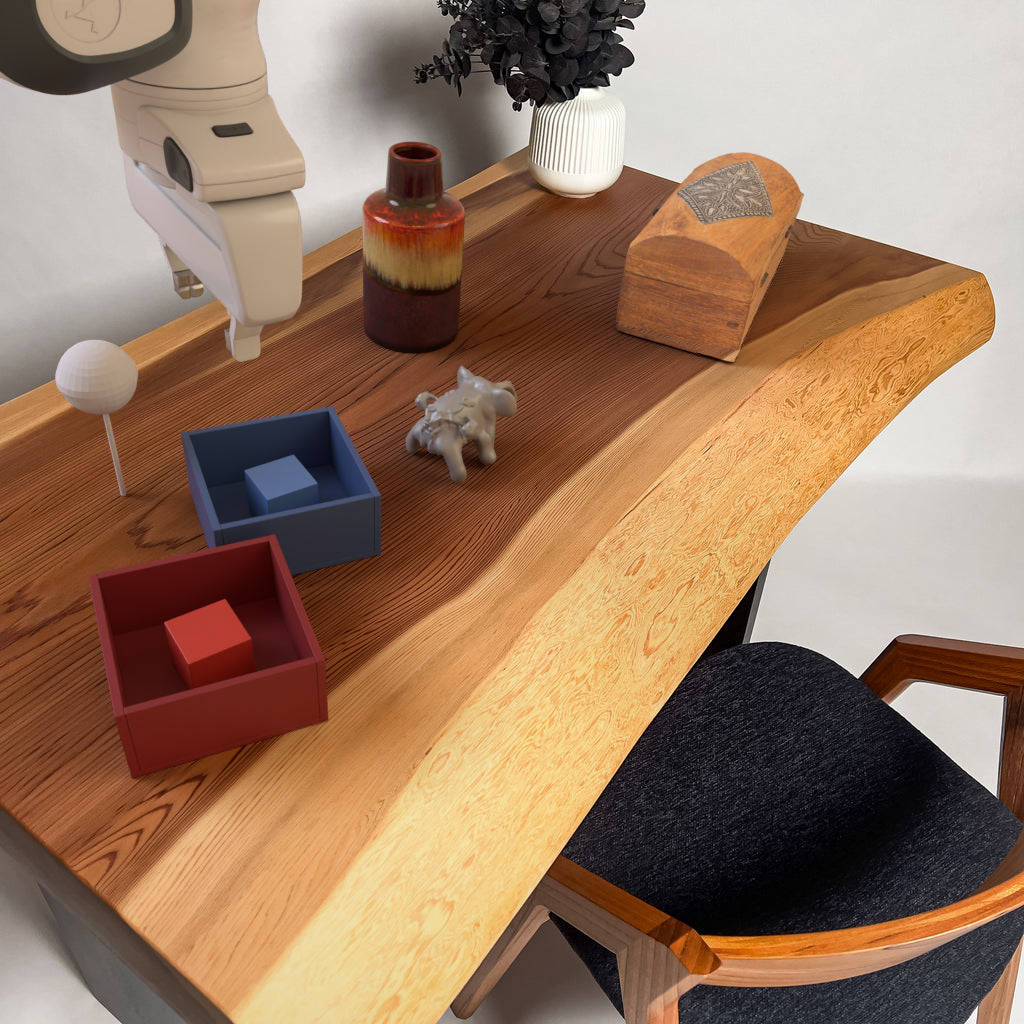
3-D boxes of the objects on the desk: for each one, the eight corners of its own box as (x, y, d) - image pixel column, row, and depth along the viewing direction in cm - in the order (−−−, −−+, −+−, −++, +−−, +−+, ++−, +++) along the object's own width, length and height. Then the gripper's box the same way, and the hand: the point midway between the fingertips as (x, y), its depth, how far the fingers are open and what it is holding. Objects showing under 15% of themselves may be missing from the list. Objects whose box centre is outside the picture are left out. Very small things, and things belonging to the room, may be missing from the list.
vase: (464, 311, 114) (475, 138, 101) (451, 358, 106) (461, 177, 93) (374, 300, 114) (373, 126, 101) (354, 346, 106) (350, 163, 93)
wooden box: (671, 237, 136) (691, 137, 127) (786, 267, 131) (815, 166, 122) (599, 328, 114) (618, 216, 105) (734, 367, 110) (766, 254, 101)
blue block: (271, 541, 80) (267, 500, 78) (248, 511, 83) (244, 470, 80) (320, 523, 83) (317, 483, 80) (296, 494, 85) (293, 454, 82)
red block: (196, 706, 67) (188, 664, 64) (172, 664, 70) (163, 621, 67) (257, 680, 69) (251, 638, 66) (231, 640, 72) (225, 598, 69)
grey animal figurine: (391, 466, 90) (392, 397, 85) (449, 404, 99) (453, 339, 94) (480, 498, 88) (486, 429, 83) (531, 432, 97) (540, 367, 92)
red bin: (132, 779, 63) (114, 717, 59) (105, 637, 72) (88, 574, 68) (328, 720, 68) (325, 659, 64) (280, 594, 77) (275, 533, 72)
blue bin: (222, 591, 76) (213, 530, 72) (190, 491, 85) (180, 432, 81) (381, 554, 81) (381, 495, 77) (335, 463, 90) (333, 405, 86)
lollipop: (131, 464, 87) (100, 317, 78) (174, 492, 85) (148, 343, 75) (71, 496, 83) (30, 346, 73) (115, 526, 81) (79, 374, 71)
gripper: (83, 70, 62) (116, 269, 71) (210, 185, 50) (231, 407, 59) (179, 63, 65) (199, 254, 74) (320, 170, 53) (324, 383, 62)
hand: (215, 323), depth 66 cm, fingers open, 8 cm apart
